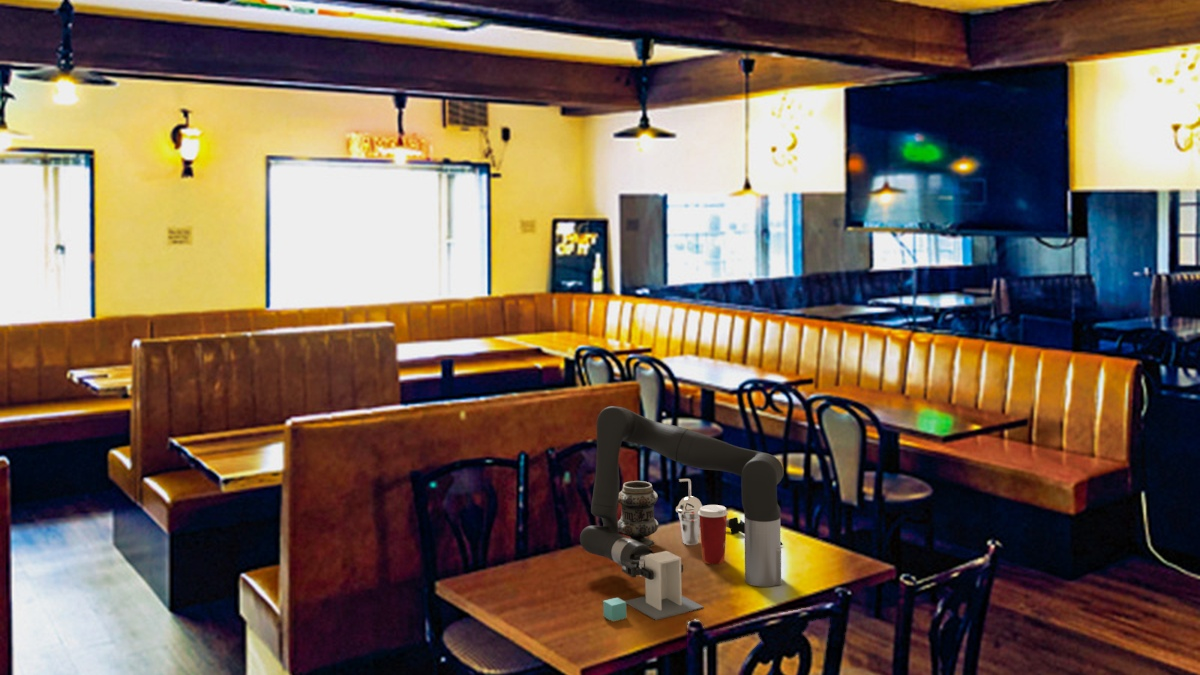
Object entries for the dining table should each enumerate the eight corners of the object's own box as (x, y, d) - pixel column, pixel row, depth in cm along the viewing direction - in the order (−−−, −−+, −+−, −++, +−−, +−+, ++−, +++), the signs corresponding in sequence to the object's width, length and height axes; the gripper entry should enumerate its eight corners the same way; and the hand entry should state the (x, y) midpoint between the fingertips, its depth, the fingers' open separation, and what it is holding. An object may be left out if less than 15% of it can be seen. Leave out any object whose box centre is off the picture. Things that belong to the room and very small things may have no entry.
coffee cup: (734, 561, 298) (734, 508, 296) (711, 567, 293) (711, 514, 291) (714, 554, 305) (714, 502, 303) (692, 560, 300) (691, 507, 298)
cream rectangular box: (645, 602, 267) (644, 555, 266) (667, 597, 270) (666, 550, 269) (659, 610, 262) (659, 562, 260) (681, 605, 265) (681, 557, 263)
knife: (703, 521, 333) (704, 507, 332) (710, 519, 334) (711, 505, 333) (775, 555, 309) (776, 540, 308) (782, 552, 310) (784, 538, 310)
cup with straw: (710, 545, 313) (709, 477, 311) (681, 549, 310) (680, 480, 308) (697, 537, 321) (696, 471, 319) (669, 540, 318) (668, 474, 316)
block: (603, 616, 260) (603, 600, 259) (617, 613, 262) (617, 597, 261) (612, 621, 256) (612, 605, 256) (626, 618, 258) (626, 602, 258)
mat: (671, 591, 276) (671, 590, 276) (703, 608, 264) (703, 606, 264) (624, 602, 269) (624, 600, 269) (655, 620, 257) (655, 618, 257)
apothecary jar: (664, 548, 311) (663, 487, 309) (624, 552, 308) (623, 491, 306) (650, 536, 323) (649, 477, 321) (612, 540, 319) (610, 481, 317)
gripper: (607, 545, 273) (642, 562, 259) (654, 536, 280) (691, 552, 267) (608, 574, 274) (643, 593, 260) (655, 564, 281) (691, 581, 267)
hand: (667, 572), depth 263 cm, fingers open, 8 cm apart
